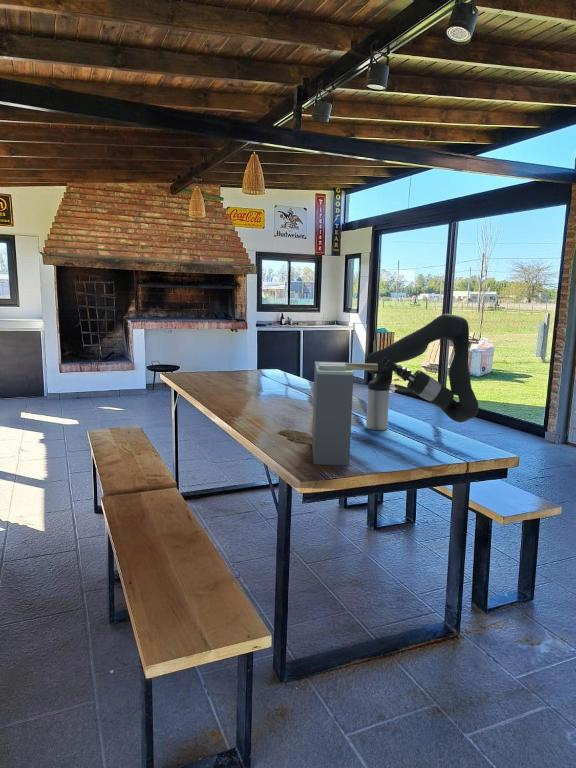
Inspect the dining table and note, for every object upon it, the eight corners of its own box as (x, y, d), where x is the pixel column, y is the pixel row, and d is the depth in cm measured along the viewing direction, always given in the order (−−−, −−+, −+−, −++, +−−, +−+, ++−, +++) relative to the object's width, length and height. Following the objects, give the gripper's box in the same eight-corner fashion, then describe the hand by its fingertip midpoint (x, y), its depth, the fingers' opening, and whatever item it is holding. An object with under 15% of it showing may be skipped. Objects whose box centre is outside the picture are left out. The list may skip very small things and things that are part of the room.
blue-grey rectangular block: (311, 443, 211) (314, 361, 206) (342, 444, 211) (346, 362, 206) (313, 464, 186) (317, 371, 180) (349, 465, 186) (353, 372, 180)
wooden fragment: (273, 431, 229) (274, 429, 229) (297, 429, 233) (297, 427, 233) (300, 448, 206) (300, 445, 206) (326, 445, 210) (326, 442, 210)
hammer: (318, 366, 191) (318, 361, 191) (375, 368, 191) (375, 362, 191) (319, 369, 183) (319, 364, 183) (379, 371, 183) (379, 365, 183)
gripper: (425, 373, 194) (387, 350, 193) (435, 379, 180) (394, 354, 179) (413, 391, 195) (375, 367, 194) (422, 398, 181) (381, 373, 180)
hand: (384, 361), depth 187 cm, fingers open, 8 cm apart
